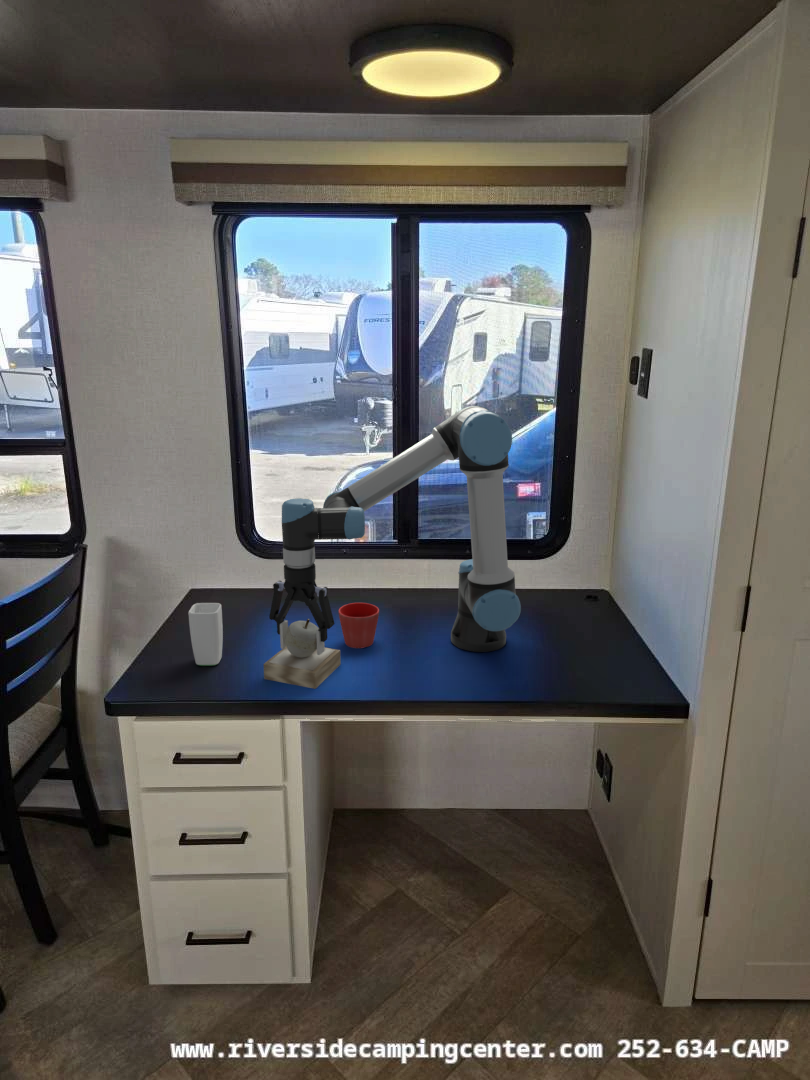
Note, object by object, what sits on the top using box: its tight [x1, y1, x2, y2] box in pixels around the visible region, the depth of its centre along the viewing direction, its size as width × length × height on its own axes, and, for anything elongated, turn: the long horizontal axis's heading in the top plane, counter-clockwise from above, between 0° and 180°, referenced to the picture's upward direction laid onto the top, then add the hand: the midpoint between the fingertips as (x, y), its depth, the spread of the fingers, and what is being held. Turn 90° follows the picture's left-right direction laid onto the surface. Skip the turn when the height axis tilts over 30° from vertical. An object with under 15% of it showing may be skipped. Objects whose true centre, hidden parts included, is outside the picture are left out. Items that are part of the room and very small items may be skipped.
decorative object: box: [285, 618, 319, 658], centre depth 181 cm, size 9×9×10 cm
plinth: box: [263, 646, 342, 690], centre depth 183 cm, size 14×14×4 cm
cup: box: [187, 602, 224, 667], centre depth 186 cm, size 7×7×15 cm
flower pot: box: [338, 602, 380, 649], centre depth 199 cm, size 11×11×10 cm
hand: (302, 649), depth 182 cm, fingers open, 9 cm apart
